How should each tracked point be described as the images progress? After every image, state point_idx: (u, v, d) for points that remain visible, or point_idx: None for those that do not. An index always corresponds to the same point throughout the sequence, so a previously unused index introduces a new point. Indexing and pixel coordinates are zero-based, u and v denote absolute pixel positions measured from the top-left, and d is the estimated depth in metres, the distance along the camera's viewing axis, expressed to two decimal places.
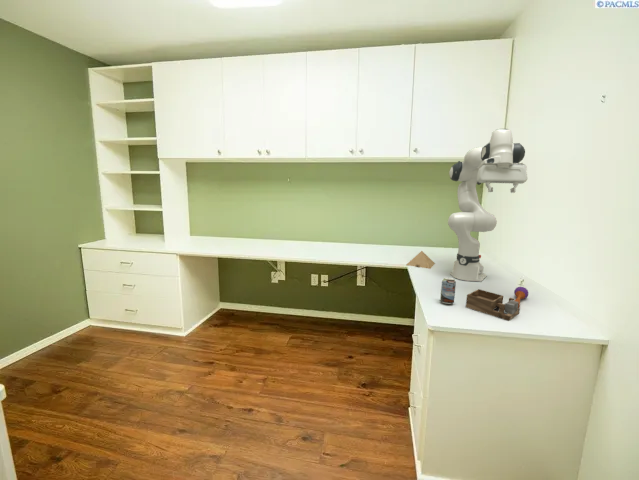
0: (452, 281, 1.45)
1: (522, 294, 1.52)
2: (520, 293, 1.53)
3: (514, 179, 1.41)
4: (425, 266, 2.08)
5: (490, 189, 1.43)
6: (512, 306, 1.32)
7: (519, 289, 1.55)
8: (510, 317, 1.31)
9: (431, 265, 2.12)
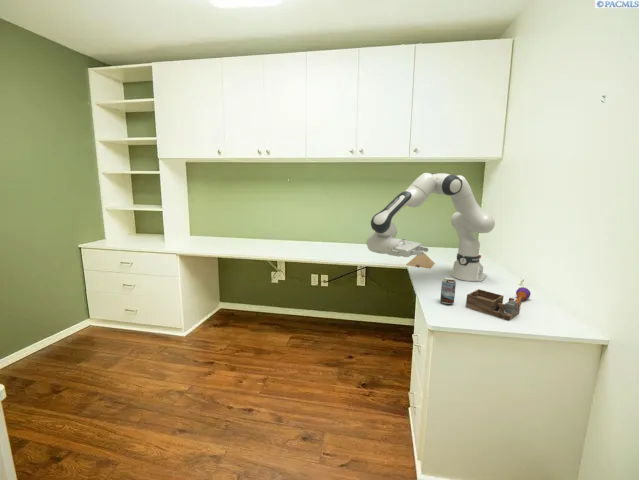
0: (452, 281, 1.45)
1: (523, 295, 1.52)
2: (521, 293, 1.52)
3: None
4: (425, 266, 2.08)
5: None
6: (512, 306, 1.32)
7: (521, 289, 1.55)
8: (510, 317, 1.31)
9: (431, 265, 2.12)
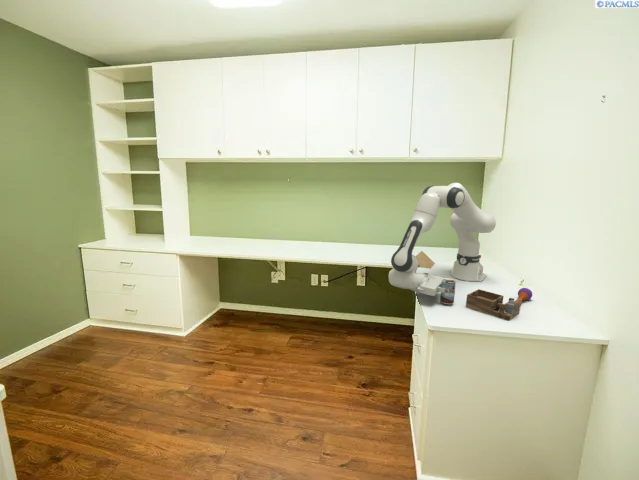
0: (451, 281, 1.44)
1: (525, 295, 1.51)
2: (523, 294, 1.51)
3: None
4: (425, 266, 2.08)
5: None
6: (512, 306, 1.32)
7: (522, 290, 1.54)
8: (510, 317, 1.31)
9: (431, 265, 2.12)
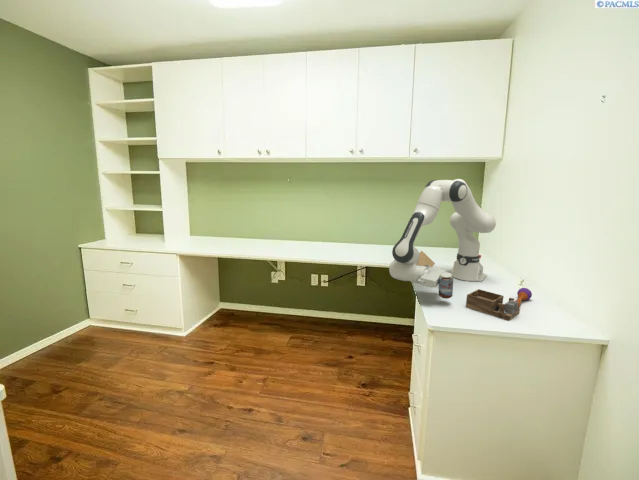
0: (447, 279, 1.41)
1: (524, 295, 1.51)
2: (522, 294, 1.51)
3: None
4: None
5: None
6: (512, 306, 1.32)
7: (522, 290, 1.54)
8: (510, 317, 1.31)
9: (431, 265, 2.12)
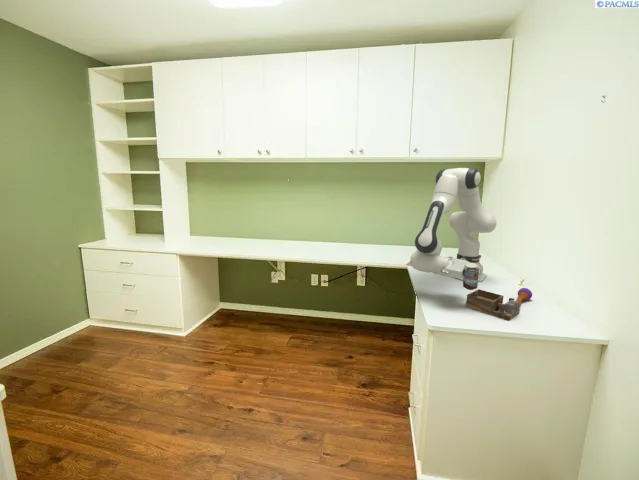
0: (473, 269, 1.37)
1: (524, 295, 1.51)
2: (522, 294, 1.51)
3: None
4: None
5: None
6: (512, 306, 1.32)
7: (522, 290, 1.54)
8: (510, 317, 1.31)
9: None
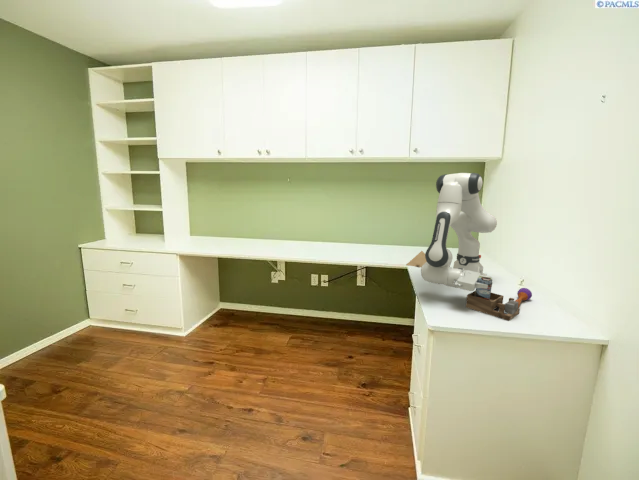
0: (487, 279, 1.40)
1: (524, 295, 1.51)
2: (522, 294, 1.51)
3: None
4: None
5: None
6: (512, 306, 1.32)
7: (522, 290, 1.54)
8: (510, 317, 1.31)
9: None
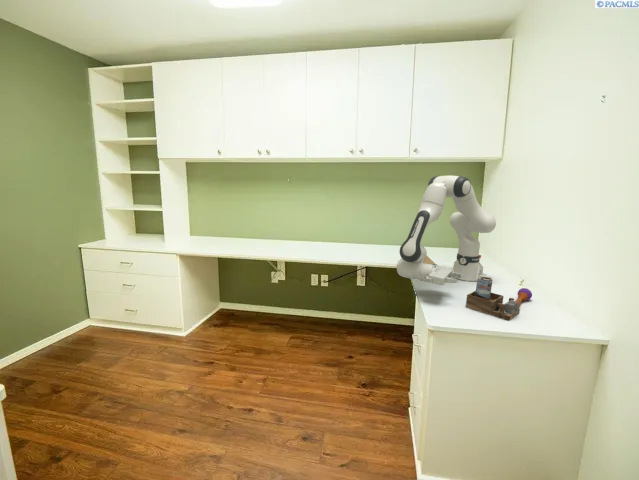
0: (487, 279, 1.40)
1: (524, 295, 1.51)
2: (522, 294, 1.51)
3: None
4: None
5: None
6: (512, 306, 1.32)
7: (522, 290, 1.53)
8: (510, 317, 1.31)
9: None
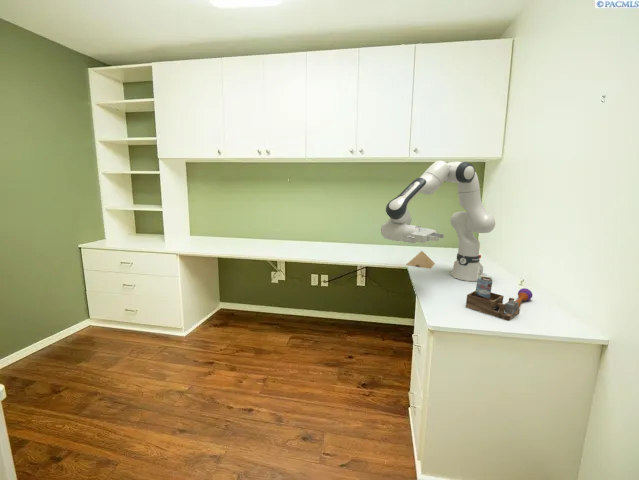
0: (487, 279, 1.40)
1: (524, 296, 1.50)
2: (522, 294, 1.51)
3: None
4: (425, 266, 2.08)
5: None
6: (512, 306, 1.32)
7: (522, 291, 1.53)
8: (510, 317, 1.31)
9: (431, 265, 2.12)
